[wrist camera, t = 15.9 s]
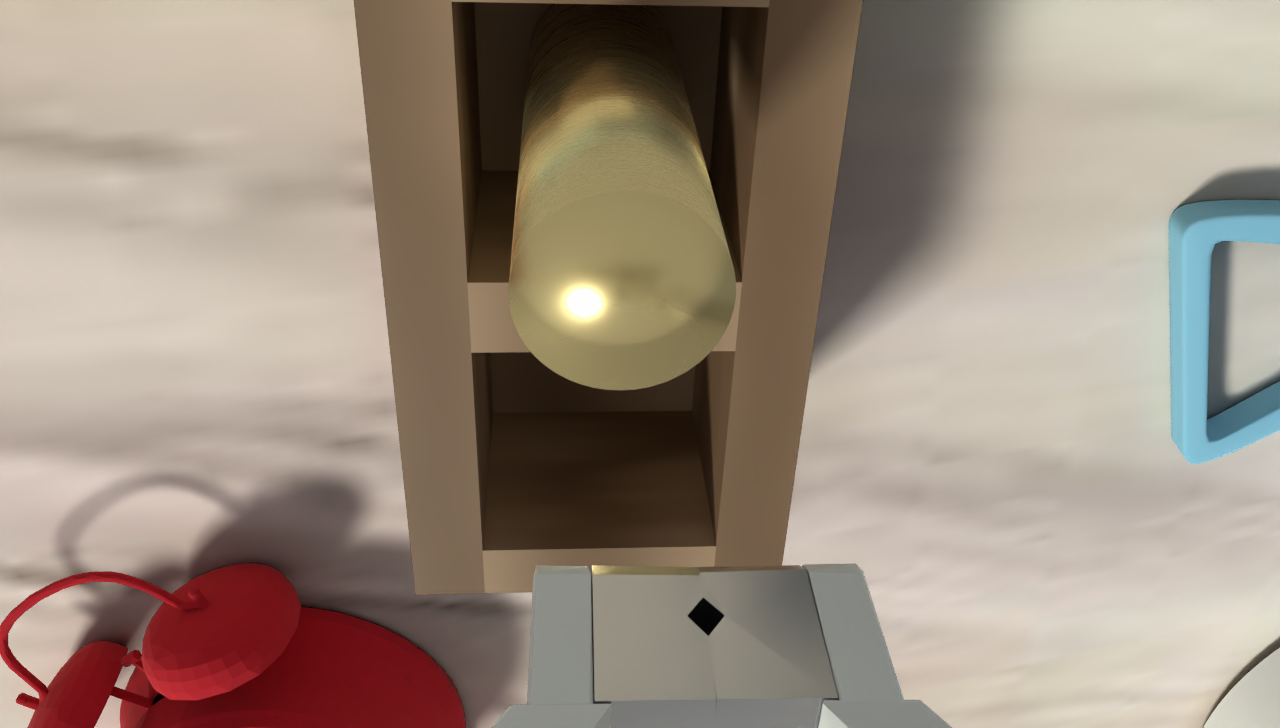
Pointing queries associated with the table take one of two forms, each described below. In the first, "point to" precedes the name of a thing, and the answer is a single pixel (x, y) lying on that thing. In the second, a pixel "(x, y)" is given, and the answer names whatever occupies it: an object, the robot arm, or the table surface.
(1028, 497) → the table surface
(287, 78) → the table surface
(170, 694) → the alarm clock
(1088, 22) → the table surface
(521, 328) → the gold rounded rod
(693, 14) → the box
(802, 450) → the table surface
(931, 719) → the robot arm
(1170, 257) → the chair
